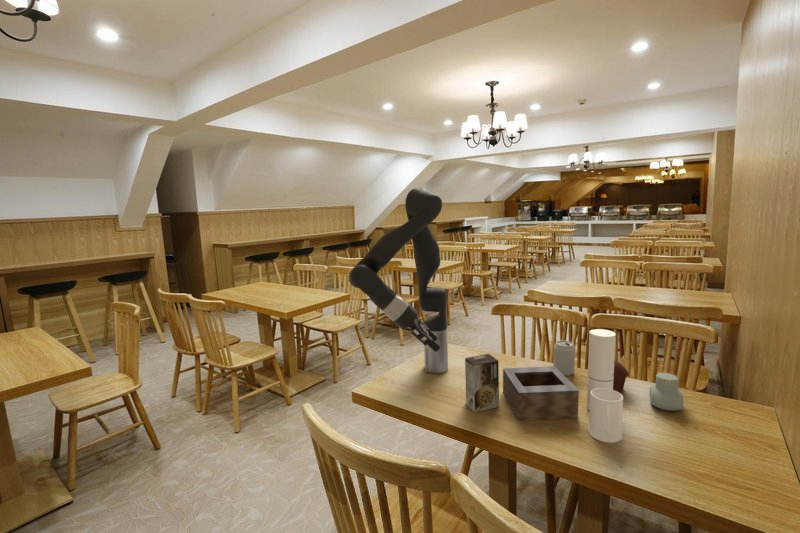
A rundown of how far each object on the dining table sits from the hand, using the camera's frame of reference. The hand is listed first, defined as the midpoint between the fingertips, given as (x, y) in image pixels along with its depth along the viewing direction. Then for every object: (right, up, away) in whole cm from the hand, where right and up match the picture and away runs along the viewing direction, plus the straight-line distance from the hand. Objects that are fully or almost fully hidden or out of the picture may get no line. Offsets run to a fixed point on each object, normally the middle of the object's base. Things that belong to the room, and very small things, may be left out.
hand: (436, 344), depth 127 cm
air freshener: (+72, -19, -1) cm, 75 cm away
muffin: (+61, -18, +11) cm, 65 cm away
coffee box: (+15, -21, +3) cm, 26 cm away
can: (+51, -16, +25) cm, 59 cm away
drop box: (+33, -20, +2) cm, 39 cm away
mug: (+45, -23, -16) cm, 53 cm away
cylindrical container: (+51, -20, -1) cm, 55 cm away
